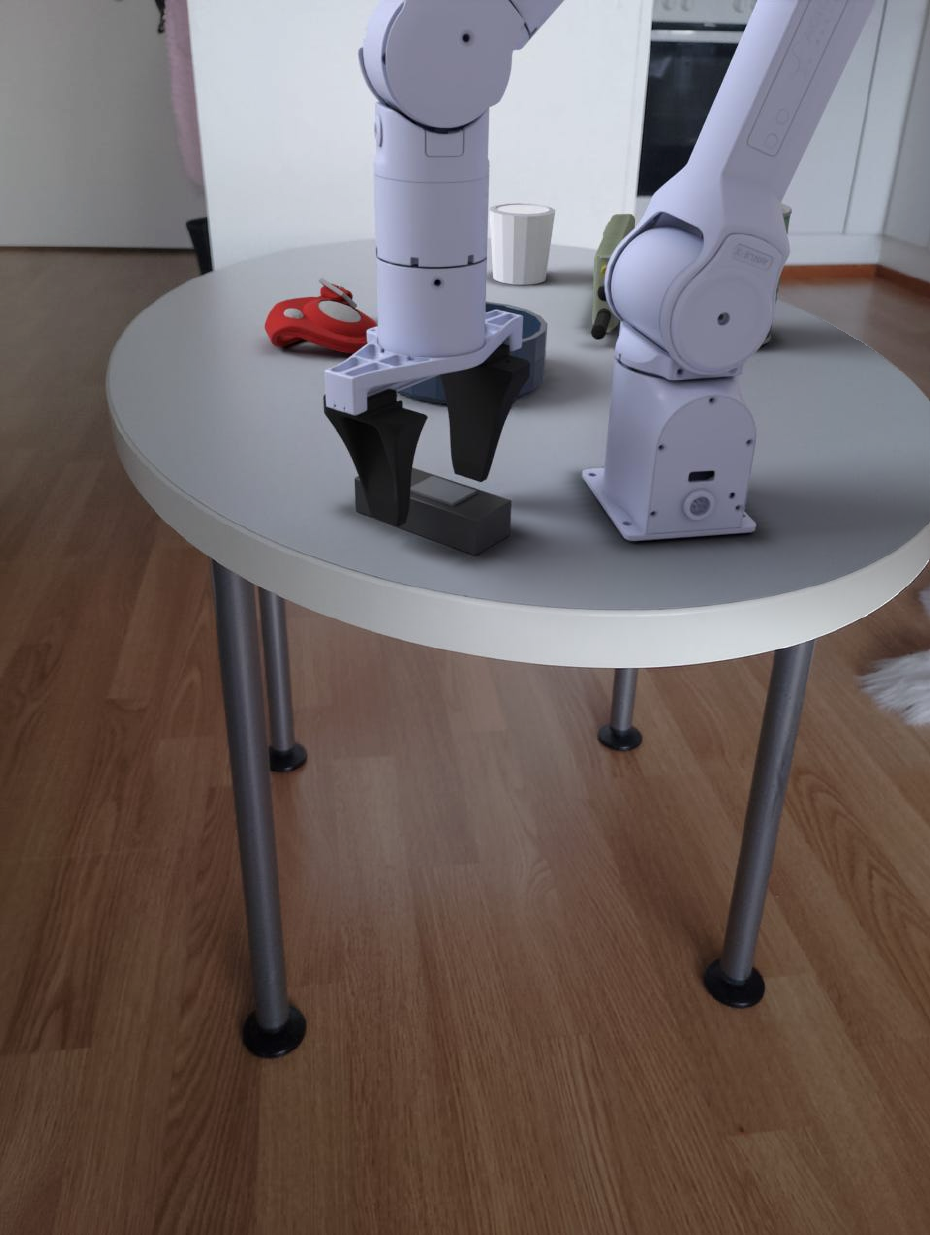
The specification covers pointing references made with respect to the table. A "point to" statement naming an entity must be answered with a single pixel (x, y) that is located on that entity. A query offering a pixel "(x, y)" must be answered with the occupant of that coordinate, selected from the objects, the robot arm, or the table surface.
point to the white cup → (521, 242)
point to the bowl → (530, 350)
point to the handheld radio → (611, 238)
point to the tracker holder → (320, 320)
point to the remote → (451, 512)
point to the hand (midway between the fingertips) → (431, 497)
